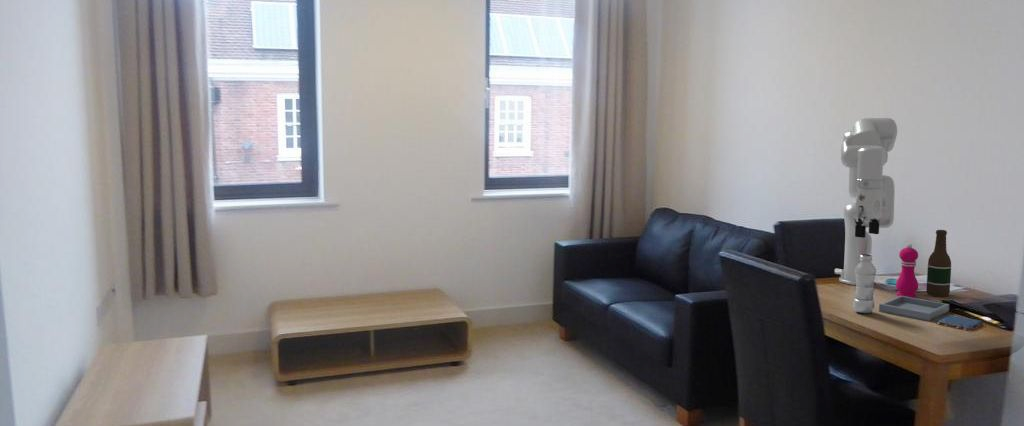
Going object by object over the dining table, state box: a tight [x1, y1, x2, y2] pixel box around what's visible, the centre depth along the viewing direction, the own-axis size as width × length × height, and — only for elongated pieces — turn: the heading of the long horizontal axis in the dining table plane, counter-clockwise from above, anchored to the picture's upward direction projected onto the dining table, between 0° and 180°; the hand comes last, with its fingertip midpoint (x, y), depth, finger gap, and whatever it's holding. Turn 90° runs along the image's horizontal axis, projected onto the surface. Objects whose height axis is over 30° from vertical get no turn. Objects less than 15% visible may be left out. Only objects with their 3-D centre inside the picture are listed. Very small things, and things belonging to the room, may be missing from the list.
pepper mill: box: [895, 243, 919, 298], centre depth 264 cm, size 7×7×20 cm
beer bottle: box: [926, 229, 952, 298], centre depth 267 cm, size 8×8×24 cm
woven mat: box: [935, 314, 985, 332], centre depth 233 cm, size 10×11×2 cm
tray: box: [878, 296, 950, 322], centre depth 248 cm, size 16×16×2 cm
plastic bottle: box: [852, 254, 877, 314], centre depth 247 cm, size 6×7×20 cm
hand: (867, 235), depth 245 cm, fingers open, 9 cm apart
